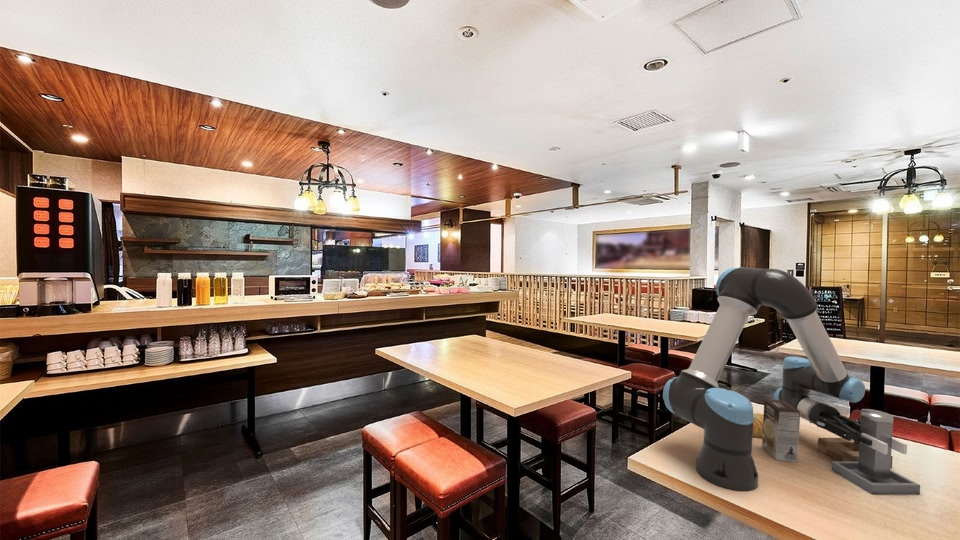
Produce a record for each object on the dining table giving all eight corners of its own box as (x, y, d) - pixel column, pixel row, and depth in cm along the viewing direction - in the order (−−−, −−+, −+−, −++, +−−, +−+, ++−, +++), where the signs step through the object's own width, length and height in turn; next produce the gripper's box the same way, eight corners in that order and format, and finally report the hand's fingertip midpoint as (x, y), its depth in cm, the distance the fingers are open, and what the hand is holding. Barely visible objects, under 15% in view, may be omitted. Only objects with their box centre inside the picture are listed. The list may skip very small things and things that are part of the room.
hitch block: (852, 467, 118) (853, 456, 118) (817, 448, 130) (818, 437, 130) (891, 467, 119) (892, 456, 119) (853, 448, 131) (854, 437, 131)
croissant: (735, 447, 138) (745, 432, 134) (717, 423, 146) (725, 408, 142) (788, 442, 141) (799, 427, 137) (767, 418, 150) (776, 404, 145)
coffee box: (760, 446, 131) (762, 398, 131) (782, 448, 130) (785, 400, 129) (775, 460, 122) (777, 409, 122) (799, 462, 121) (801, 411, 120)
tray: (872, 494, 105) (872, 485, 105) (831, 469, 117) (831, 461, 117) (919, 494, 106) (920, 485, 105) (874, 469, 118) (874, 461, 117)
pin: (874, 481, 108) (877, 418, 107) (851, 468, 114) (854, 408, 114) (896, 481, 108) (900, 418, 107) (873, 468, 115) (876, 409, 114)
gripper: (845, 425, 129) (927, 463, 106) (792, 425, 129) (862, 463, 106) (846, 402, 129) (928, 435, 106) (793, 402, 129) (864, 435, 105)
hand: (895, 449), depth 106 cm, fingers closed on pin, 4 cm apart
